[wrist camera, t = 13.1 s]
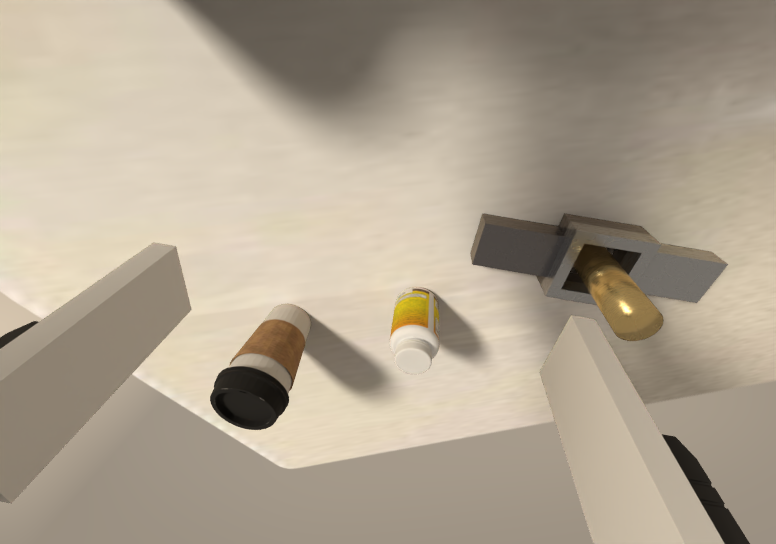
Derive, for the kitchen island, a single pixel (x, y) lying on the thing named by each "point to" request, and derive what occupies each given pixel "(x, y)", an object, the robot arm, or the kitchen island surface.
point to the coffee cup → (263, 371)
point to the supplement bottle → (415, 330)
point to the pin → (617, 294)
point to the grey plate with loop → (564, 242)
